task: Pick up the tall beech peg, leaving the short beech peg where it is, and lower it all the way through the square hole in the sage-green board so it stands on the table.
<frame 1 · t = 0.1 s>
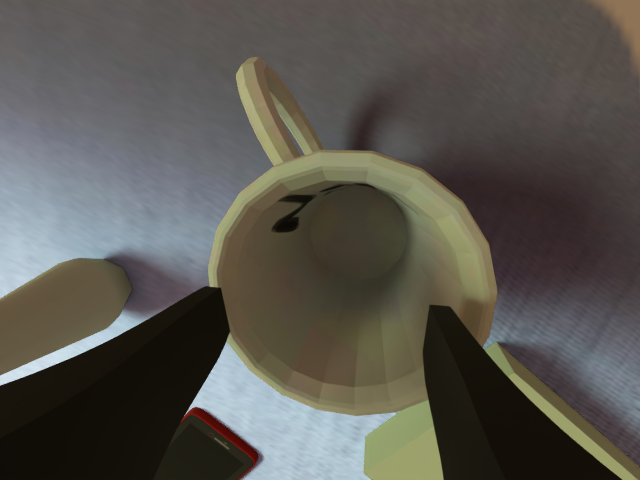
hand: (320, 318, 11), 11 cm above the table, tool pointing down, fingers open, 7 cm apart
hole board: (512, 468, 23), on the table
salt shaker: (112, 281, 26), on the table
cell phone: (193, 462, 31), on the table
mug: (344, 198, 20), on the table
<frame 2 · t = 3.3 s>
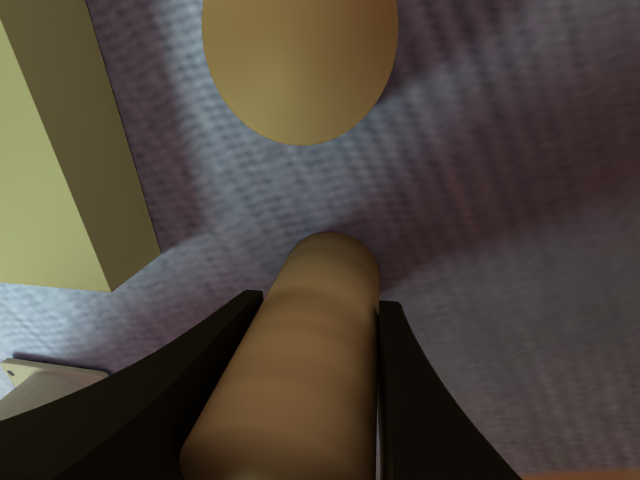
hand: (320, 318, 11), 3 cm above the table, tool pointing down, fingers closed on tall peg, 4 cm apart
short peg: (327, 57, 10), on the table
tall peg: (331, 274, 13), on the table, touching gripper
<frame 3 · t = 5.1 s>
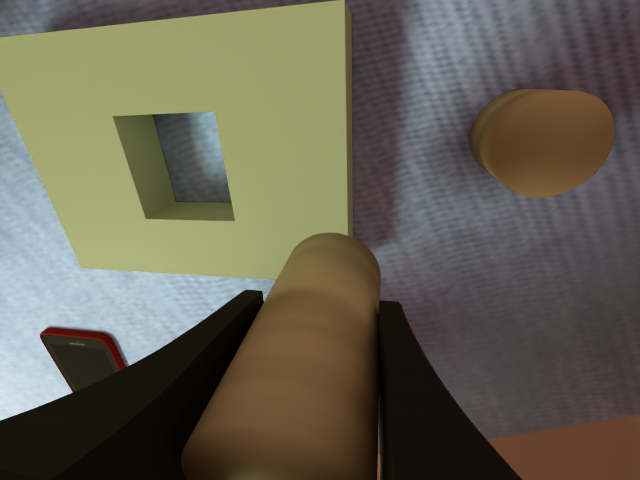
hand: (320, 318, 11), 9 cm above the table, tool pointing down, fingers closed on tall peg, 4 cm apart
hole board: (205, 159, 19), on the table
short peg: (513, 133, 15), on the table
tall peg: (332, 275, 13), point 7 cm above the table, touching gripper
cell phone: (108, 379, 33), on the table
when the fingers open (4 cm above the table, at t = 7.3 s): tall peg drops 1 cm, resting in hole board.
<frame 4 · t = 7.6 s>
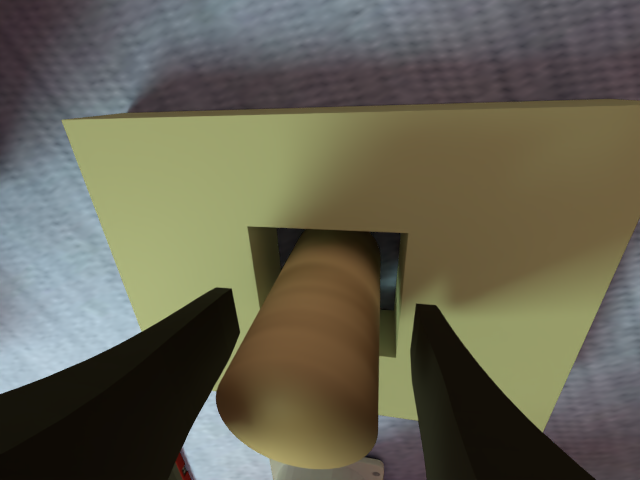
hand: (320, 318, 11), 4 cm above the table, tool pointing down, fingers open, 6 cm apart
hole board: (336, 257, 14), on the table
tall peg: (337, 257, 15), resting in hole board
cell phone: (155, 463, 28), on the table
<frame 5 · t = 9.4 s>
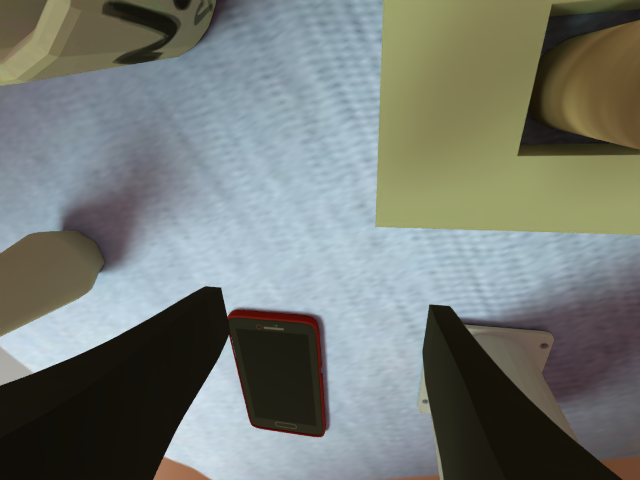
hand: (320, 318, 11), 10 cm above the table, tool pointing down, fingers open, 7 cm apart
hole board: (570, 84, 15), on the table
tall peg: (571, 84, 15), resting in hole board
salt shaker: (84, 251, 26), on the table
cell phone: (282, 371, 29), on the table
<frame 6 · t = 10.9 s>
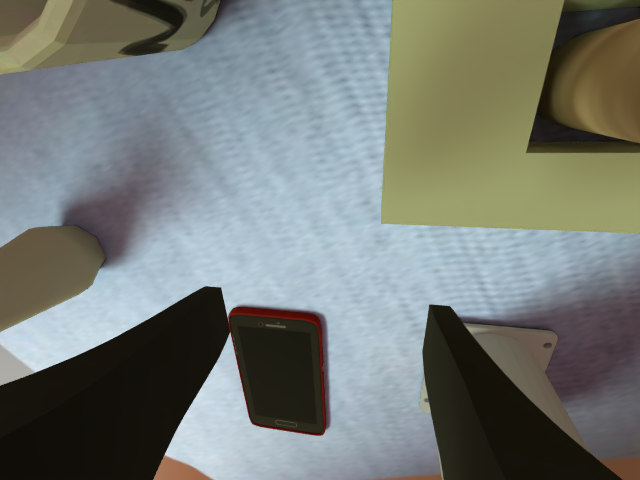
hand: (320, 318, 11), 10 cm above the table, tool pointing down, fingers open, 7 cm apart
hole board: (580, 81, 15), on the table
tall peg: (580, 81, 15), resting in hole board
salt shaker: (84, 247, 26), on the table
cell phone: (283, 369, 29), on the table
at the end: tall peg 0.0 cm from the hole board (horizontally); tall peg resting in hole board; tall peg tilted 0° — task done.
